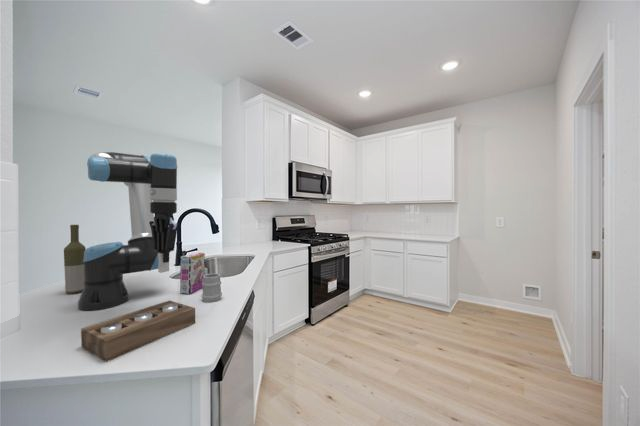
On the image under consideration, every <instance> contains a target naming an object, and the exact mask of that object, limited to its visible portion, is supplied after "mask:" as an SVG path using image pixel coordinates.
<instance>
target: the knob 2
mask: <svg viewBox="0 0 640 426" xmlns="http://www.w3.org/2000/svg"><path fill="white" fill-rule="evenodd" d="M151 318H153V316H152V313H142V314H139V315H136V316H135V317H134V321H135V322H137V323H139V322H142V321H145V320H148V319H151Z"/></svg>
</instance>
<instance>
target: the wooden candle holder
mask: <svg viewBox="0 0 640 426" xmlns="http://www.w3.org/2000/svg"><path fill="white" fill-rule="evenodd" d="M170 304H177V305H178V309H176V310H173V311H170V312H168V313H166V312H163V311H162V307H164V306H166V305H170ZM142 313H152V316H153V318H151V319H148V320H145V321H142V322H139V323H137V322H135V321H134V317H135V316H136V315H139V314H142ZM112 323H121V324H122V329H120V330H117V331H114V332H111V333H108V334H106V335H103V334H101V328H102V327H103V326H105V325H108V324H112ZM194 324H196V307H193V306H189V305H186V304H183V303H181V302H175V301H173V300H168V301H163V302H161V303H157V304H153V305H151V306H148V307H143V308H141V309H139V310H135V311H132V312H128V313H126V314H122V315H119V316H115V317H114V318H110V319H107V320H103V321H100V322H98V323H94V324H91V325H88V326H85V327H82V328H81V329H80V331H81V332H80V333H81V335H80V337H81V345H80V346H81V348H83V349H84V350H87V351H88V353H91V354H92V355H95V356H96V357H97V358H100V359H101V360H103V361H104V362H109V361H111V360H114V359H115V358H117V357H120V356H122V355H125V354H127V353H130V352H132V351H134V350H137V349H139V348H141V347H144V346H146V345H147V344H150V343H153V342H155V341H157V340H160V339H162V338H164V337H166V336H169V335H171V334H174V333H176V332H177V331H178V332H179V331H180V330H183V329H185V328H188V327H189V326H192V325H194Z"/></svg>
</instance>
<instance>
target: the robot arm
mask: <svg viewBox="0 0 640 426" xmlns="http://www.w3.org/2000/svg"><path fill="white" fill-rule="evenodd" d="M86 164H87V177H88V179H89V180H90V181H95V182H96V181H97V182H102V183H103V182H110V183H112V182H113V183H123V184H124V185H125V186H126V187H128V202H129V215H130V226H131V229H130V231H131V237H130V238H129V239H128V240H127V244H125V245H124V244H123V242H121V241H115V242H107V243H106V242H105V243H101V244H96V245H92V246H89V247H87V248H86V250H85V251H84V260H83V262H84V288H83V291H82V292H81V294H80V297H79V298H78V301H77V308H78V310H81V311H96V310H98V311H99V310H104V309H108V308H113V307H115V306H116V307H117V306H120V305H122V304H124V303H126V302H128V300H129V292H128V290H127V287H126V286H125V283H124V276H123V275H125V274H132V273H133V274H134V273H141V272H146V271H149V272H150V271H153V270H158V273H161V274H162V273H167V272H170V253H171V252H174V250H175V245H176V241H177V240H176V238H177V233H178V229H179V227H180V223H178V222H175V218H174V214H176V213H178V211H177V210H178V208H177V207H178V204H177V202H176V201H177V200H178V195H177V194H178V189H177V188H178V187H177V186H178V185H177V184H178V183H177V182H178V178H177V177H178V175H177V174H178V163H177V157H176V156H175V155H172V154H168V153H151V155H150V156H145V155H140V154H139V155H138V154H130V153H122V152H121V153H120V152H114V151H109V152H108V151H107V152H106V151H105V152H98V153H95V154H92V155H90V156H89V158H88V159H87V163H86Z"/></svg>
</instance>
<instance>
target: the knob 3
mask: <svg viewBox="0 0 640 426" xmlns="http://www.w3.org/2000/svg"><path fill="white" fill-rule="evenodd" d="M176 309H178V305H177V304H170V305H166V306H164V307H162V311H163V312H166V313H168V312H170V311H173V310H176Z"/></svg>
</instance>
